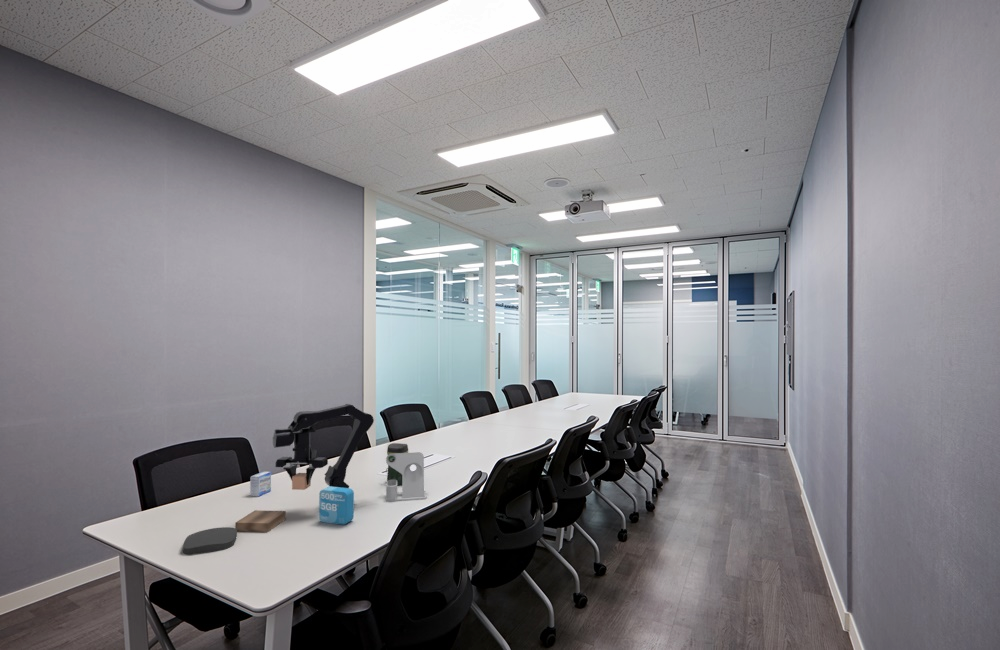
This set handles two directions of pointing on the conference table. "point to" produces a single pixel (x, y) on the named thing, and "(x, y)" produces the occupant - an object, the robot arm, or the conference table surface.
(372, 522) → the conference table surface
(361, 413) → the robot arm
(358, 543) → the conference table surface
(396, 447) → the coffee jar
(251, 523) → the walnut block
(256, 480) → the medicine box
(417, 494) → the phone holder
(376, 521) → the conference table surface
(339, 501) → the data package
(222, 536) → the media streaming box
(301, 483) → the terracotta block
